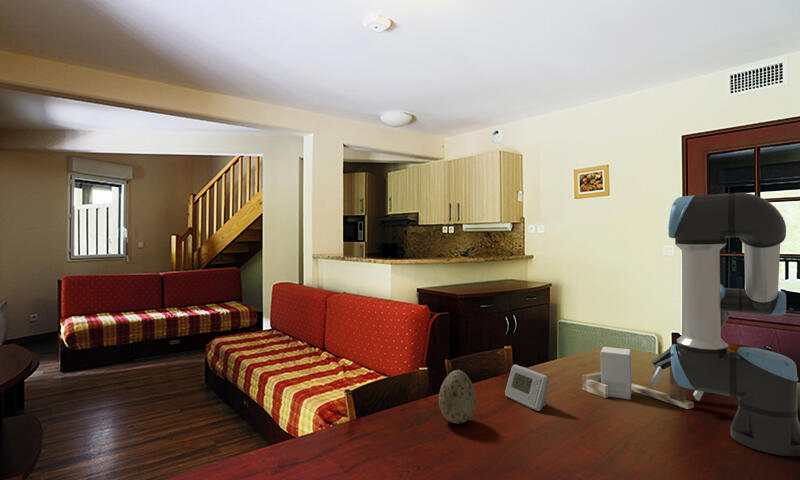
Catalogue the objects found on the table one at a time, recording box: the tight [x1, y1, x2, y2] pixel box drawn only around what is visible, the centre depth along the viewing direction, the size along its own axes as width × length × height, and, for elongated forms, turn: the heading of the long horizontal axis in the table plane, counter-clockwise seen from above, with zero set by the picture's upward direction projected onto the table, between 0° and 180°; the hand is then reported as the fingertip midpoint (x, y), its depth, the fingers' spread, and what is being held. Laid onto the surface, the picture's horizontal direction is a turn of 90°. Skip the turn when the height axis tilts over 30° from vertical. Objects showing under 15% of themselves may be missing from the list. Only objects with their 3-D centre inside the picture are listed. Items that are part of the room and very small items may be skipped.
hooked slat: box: [581, 366, 695, 410], centre depth 144 cm, size 28×18×12 cm, turn 26°
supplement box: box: [599, 346, 633, 400], centre depth 149 cm, size 9×9×15 cm
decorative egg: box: [438, 369, 477, 425], centre depth 125 cm, size 11×11×15 cm
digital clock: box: [504, 364, 550, 412], centre depth 140 cm, size 16×9×11 cm, turn 15°
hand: (673, 391), depth 137 cm, fingers open, 13 cm apart
